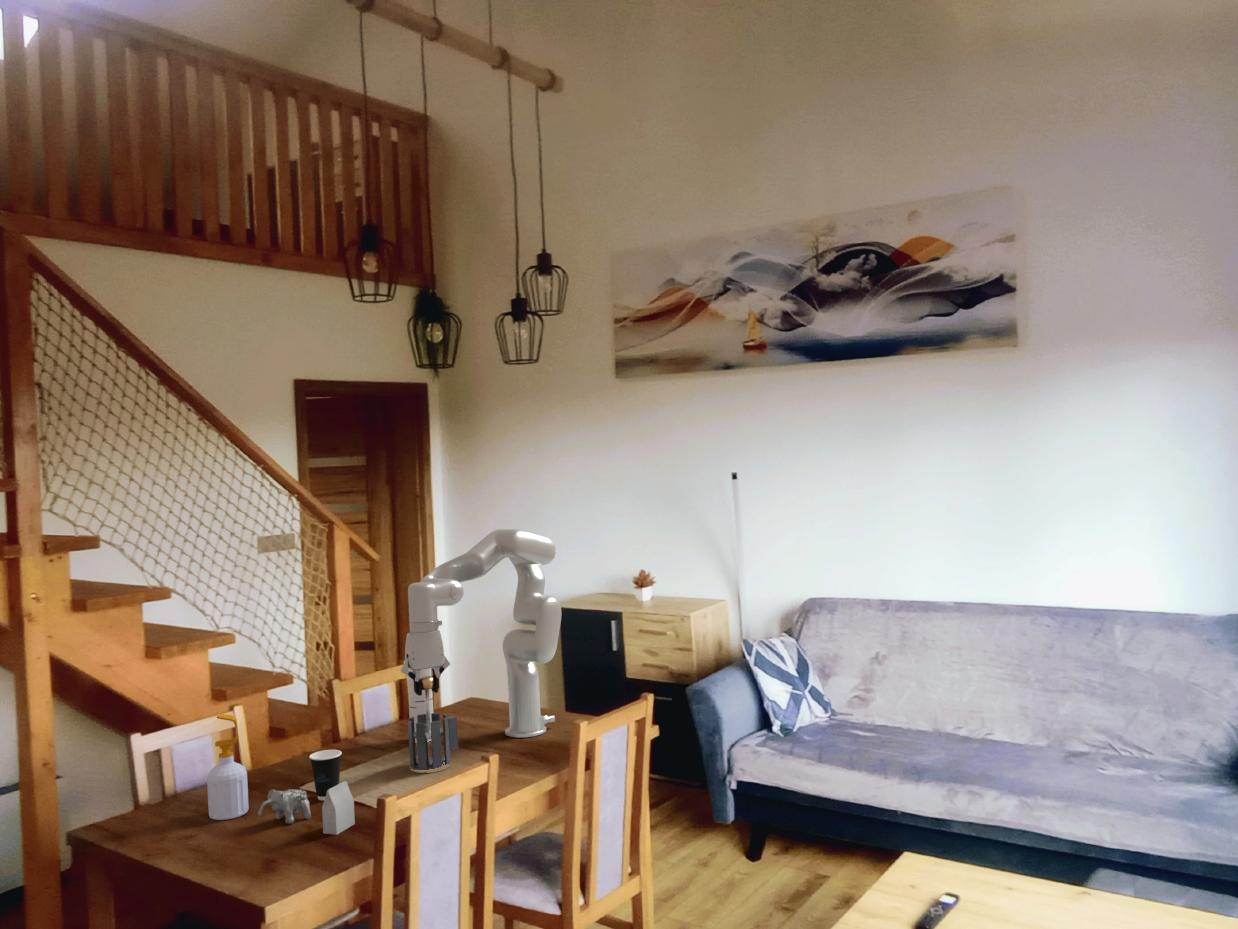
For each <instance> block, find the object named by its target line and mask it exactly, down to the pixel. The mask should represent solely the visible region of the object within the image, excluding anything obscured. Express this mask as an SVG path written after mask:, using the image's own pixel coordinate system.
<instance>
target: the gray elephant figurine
mask: <svg viewBox="0 0 1238 929" xmlns="http://www.w3.org/2000/svg"><path fill="white" fill-rule="evenodd" d="M307 793H308V792H307V791H305V790H303V789H294V788H293V789H291V788H288V789H287V790H276V789H273V788H272V789H269V791H268V792H267V796H266V798H267V800H265V801H263V802H262V803H261V805H260V807H259V810H258V811H257V815H258V816H259V817H261V816H262V812H263V809H264V808H265V806H269V805H270V806H271V810H272V811H274V812H275V818H276V820H281V819H282V818H283V815H284V816H285V820H284V822H285V824H288V825H291V824H293V823H294V822H295V817H294V814H298V812H299V813H300V812H301V811H302V812H303V816H304V819H306V820H309V819H311V807H310V800H308V794H307Z"/></svg>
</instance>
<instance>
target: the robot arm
mask: <svg viewBox="0 0 1238 929" xmlns="http://www.w3.org/2000/svg"><path fill="white" fill-rule="evenodd" d="M556 553H557V552H556V545H555V543H554V542H553V541H552V539H550V538H549V537H547V536H544V535H540V534H537V533H533V532H529V531H525V530H522V529H515V528H514V529H513V528H512V529H508V528H506V529H505V528H503V529H501V528H500V529H495V530H492V531H491V532H490V533H488V534H487V535H486V536H485V537H483V538H482V539H481V540H480V541H478V542H477V544H475V545H474V546H473V547H472V548H470V549H469V550H468V551H467V552H465V553H463V554H461V555H458V556H457V557H454V558H452V559H451V560H448V561H445V562H443V563H442V564H440V565H438V566H435V568H434V569H432V570H431V571H430V572H429V573H427V574H426V575H424V577H423V578H422V579H421V580H420V582H419V581H418V582H413V583H410V584H409V586H408V587H407V588H408V589H407V594H408V595H407V596H408V615H409V616H408V620H409V632H407V633H406V638H405V639H406V640H405V645H404V646H405V647H404V648H405V649H404V650H405V651H404V664H403V665H402V668H401V669H400V672H401V673H402V674H404V675H408V676H409V677H410V678H411V679H412V680H414V692H415V693H416V694H417V695H419V696H421V695H422V683H421V681H420V671H421V670H422V669H429V668H431V675H432V676H433V677H434V688H433V689H432V693H433V692H434V693H435V694H437V693H439V689H440V677H441V675H442V674H443V672H444V671H445V670H446V669H447V668H448V667H449V666H450V665H451V662H450V661H449V660H448V658H447V657H446V656H445V650H444V642H443V639H442V638H443V637H442V634H441V631H440V630H439V627H441V626H443V622H442V620H438V611H437V608H438V607H442V606H443V607H447V606H448V607H451V606H455V605H457V604H458V603H459V602H461V600H462V599H463V597H464V587H463V585H462V584H461V583H463V582H467V581H472V580H476V579H479V578H482V577H483V576H485V575H486V574H488V573H489V572H490V571H491V570H493V568H495V567H496V566H497V565H498V564H499V563H500V562H502V561H503V559H506V558H509V560H510V562H511V564H512V565H513V567H514V568H515V571H516V573H517V587H516V591H515V599H514V604H513V614H512V617H513V619H514V621H515V622H516V623H517V624H519V625H523V626H532V627H535V630H532V629H522V628H521V629H520V628H518V629H513V630H510V631H509V632H507V633H506V635H505V636H504V638H503V640H502V651H503V656H504V660H505V664H506V672H507V674H506V675H507V692H508V695H507V696H508V713H509V716H508V717H509V726H507V727H506V729H504V734H505V736H508V737H510V738H521V739H522V738H531V737H537V736H540V735H542V734H545V733H546V731H547V726H546V724H547V723H552V722H553V723H554V722H556V718H555V717H556V716H555V714H554V715H549V716H548V715H542V714H541V701H540V699H541V698H540V697H541V696H540V679H539V678H540V677H539V671H538V668H537V665H536V664H546V663H549V662H551V661H552V659H553V658H554V657H555V655H556V651H557V648H558V641H559V637H560V630H561V622H562V607H561V604H560V602H559V600H558V599H557V598H555V597H554V596H551V595H544V594H545V586H546V577H545V576H546V575H545V573H544V570H543V569H542V566H544V565H545V566H546V565H548V564H550V563H551V562H552V561H553V560H554V559H555V556H556ZM408 668H411V669H412V670H413V672H410V671H409V670H408ZM408 676H407V677H408Z"/></svg>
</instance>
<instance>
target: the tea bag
mask: <svg viewBox="0 0 1238 929" xmlns="http://www.w3.org/2000/svg"><path fill="white" fill-rule="evenodd" d="M354 799H355V798H354V796H353V794H352V792H351V790H350V787H349V785H348V781H346V780H344V781H342V782H339V784H338V785H336V786H334V787H332V788H330V789H329V790H327V794H326V798H325V800H323V804H322V807H321V813H322V833H323V834H325V835H326V834H328V835H334V836H336V835H337V836H338V835H339V834H340V833H342V832H344V831H346V830H347V829H349V828H350V827H352V826H354V825H355V824H356V821H355V816H356V815H355V802H354V801H355V800H354Z"/></svg>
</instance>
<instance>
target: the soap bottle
mask: <svg viewBox="0 0 1238 929" xmlns="http://www.w3.org/2000/svg"><path fill="white" fill-rule="evenodd" d="M216 719H218V720H219V719H220V720H225V721H230V722H233V723H234V729H235V737H234V738H228V739H222V740H216V741H215V744H214V747H219V749H221V751H222V752H220V753H219V754H218V764H217V765H216V766H214V767H213V768H211V770H210V771H209V772H208V773H207V776H206V783H207V784H206V786H207V804H208V806H207V807H208V808H207V809H208V816H209V818H210V819H211V820H214V821H227V820H232V819H237V818H239V817H241V816H243V815H246V813H248V811H249V808H250V807H249V788H248V787H249V785H248V771H247V769H246V767H245V766H244V765H242V764H241V763H239V762H236V761H235V759H234V751H231V750H230V748H232V745H235V744H237V742H238V737H239V736H238V735H239V734H238V719H237V717H236V715H235V716H234V715H233V714H231V715H230V714H225V713H217V715H216Z"/></svg>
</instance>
